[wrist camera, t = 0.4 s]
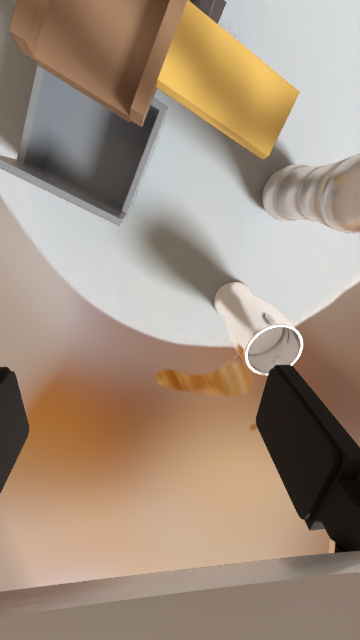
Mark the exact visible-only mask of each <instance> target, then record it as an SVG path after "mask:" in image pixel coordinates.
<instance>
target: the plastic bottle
mask: <svg viewBox="0 0 360 640" xmlns="http://www.w3.org/2000/svg"><path fill="white" fill-rule="evenodd" d="M262 201H263V206H264V208H265V210H266V212H267V213H268V214H269V215H270V216H272V217H273V218H275V219H277V220H280V221H294V220H311V221H315V222H319V223H321V224H324V225H326V226H328V227H330V228H332V229H335V230H337V231H341V232H344V233H359V232H360V154H357V155H355V156H352V157H349V158H347V159H344V160H342V161H339V162H336V163H333V164H329V165H325V166H320V167H310V166H306V165H296V164H294V165H289V166H286V167H284V168H282V169H280V170H279V171H277V172H276V173H274V174H273V175H272V176H271V177H270V179H269V180H268V181H267V183H266V185H265V187H264V190H263V195H262Z"/></svg>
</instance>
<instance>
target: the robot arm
mask: <svg viewBox="0 0 360 640" xmlns="http://www.w3.org/2000/svg"><path fill="white" fill-rule="evenodd" d="M256 424H257V427H258V430H259V432H260V433H261V436H262V438H263V440H264V443H265V445H266V447H267V449H268V451H269V453H270V455H271V457H272V460H273V462H274V464H275V466H276V468H277V470H278V473H279V475H280V477H281V479H282V481H283V483H284V486H285V488H286V490H287V492H288V494H289V496H290V499H291V501H292V503H293V505H294V507H295V509H296V511H297V513H298V515H299V517H300V518H301V519H304V520H305V522H306V524H307V526H308V528H309V530H317V529H326V531H327V533H328V535H329V537H330V545H329V554H318V555H307V556H297V557H289V558H280V559H272V560H262V561H253V562H244V563H235V564H226V565H218V566H210V567H200V568H192V569H183V570H175V571H167V572H158V573H149V574H141V575H133V576H124V577H115V578H107V579H99V580H91V581H83V582H75V583H66V584H58V585H51V586H42V587H34V588H26V589H18V590H11V591H2V592H0V640H360V447H359V446H358V445H357V444H356V443H355V441H354V440H353V439H352V438H351V436H350V435H349V434H348V433H347V432H346V430H345V429H344V428H343V427H342V425H341V424H340V423H339V422H338V421H337V419H336V418H335V417H334V416H333V415H332V413H331V412H330V411H329V410H328V408H327V407H326V406H325V405H324V404H323V402H322V401H321V400H320V399H319V397H318V396H317V395H316V394H315V393H314V392H313V390H312V389H311V388H310V387H309V386H308V384H307V383H306V382H305V380H304V379H303V378H302V377H301V376H300V375H299V373H298V372H297V371H296V370H295V368H294V367H293V366H292V365H275V366H274V368H272V369H270V371H269V374H268V378H267V381H266V385H265V388H264V392H263V395H262V399H261V402H260V406H259V409H258V413H257V416H256ZM28 433H29V424H28V420H27V416H26V413H25V409H24V405H23V401H22V398H21V393H20V390H19V386H18V382H17V378H16V375H15V373H14V372H13V371H10V369H9V368H8V367H0V493H1V491H2V489H3V487H4V485H5V483H6V481H7V478H8V476H9V474H10V472H11V470H12V468H13V466H14V464H15V462H16V460H17V458H18V456H19V453H20V451H21V449H22V447H23V445H24V443H25V441H26V439H27V437H28Z"/></svg>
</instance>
